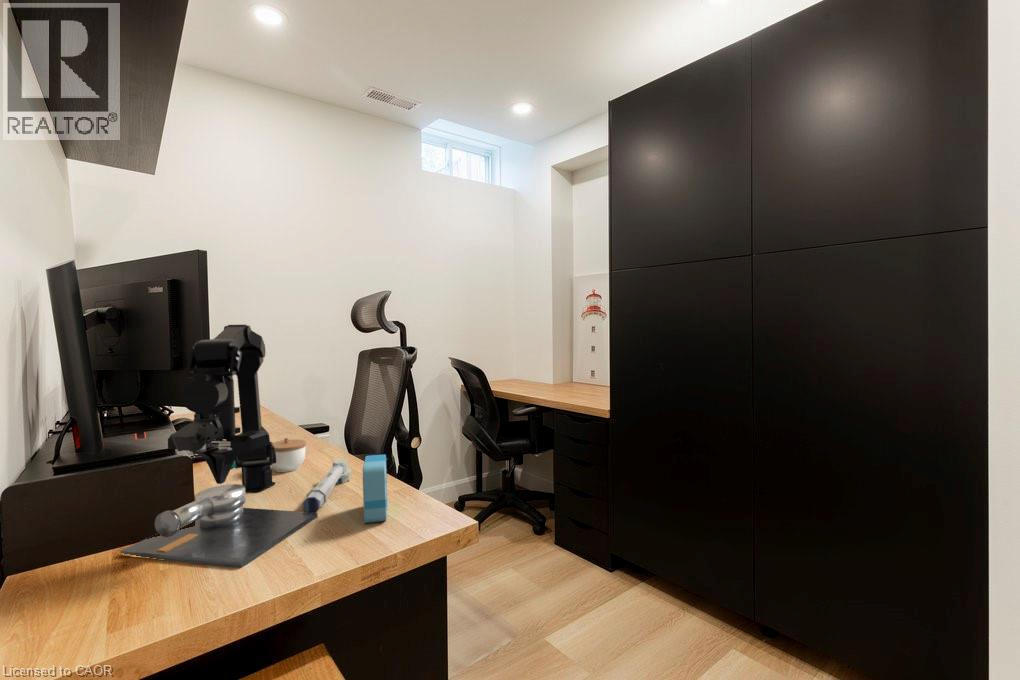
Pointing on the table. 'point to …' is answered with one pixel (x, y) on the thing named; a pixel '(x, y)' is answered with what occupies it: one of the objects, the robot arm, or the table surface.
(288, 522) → the cutting board
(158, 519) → the dryer elbow
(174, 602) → the table surface
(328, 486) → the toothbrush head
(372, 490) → the data package
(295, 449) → the lidded jar
